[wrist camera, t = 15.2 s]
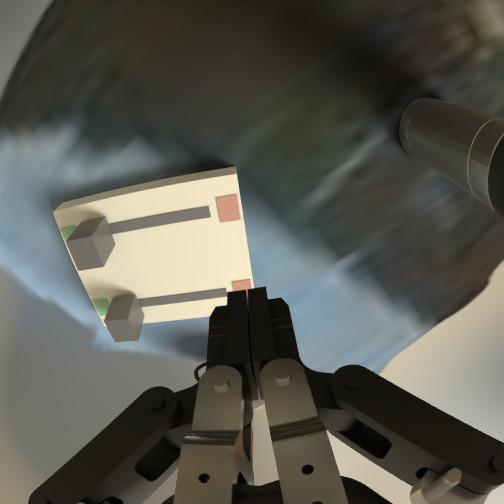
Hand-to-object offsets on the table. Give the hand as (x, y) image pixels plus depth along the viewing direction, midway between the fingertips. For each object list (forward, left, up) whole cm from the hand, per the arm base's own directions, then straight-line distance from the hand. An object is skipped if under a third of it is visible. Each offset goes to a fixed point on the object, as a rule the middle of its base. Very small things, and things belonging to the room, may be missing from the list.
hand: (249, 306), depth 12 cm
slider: (+18, +18, -24) cm, 35 cm away
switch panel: (+12, +12, -27) cm, 32 cm away
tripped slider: (+18, +6, -24) cm, 31 cm away
